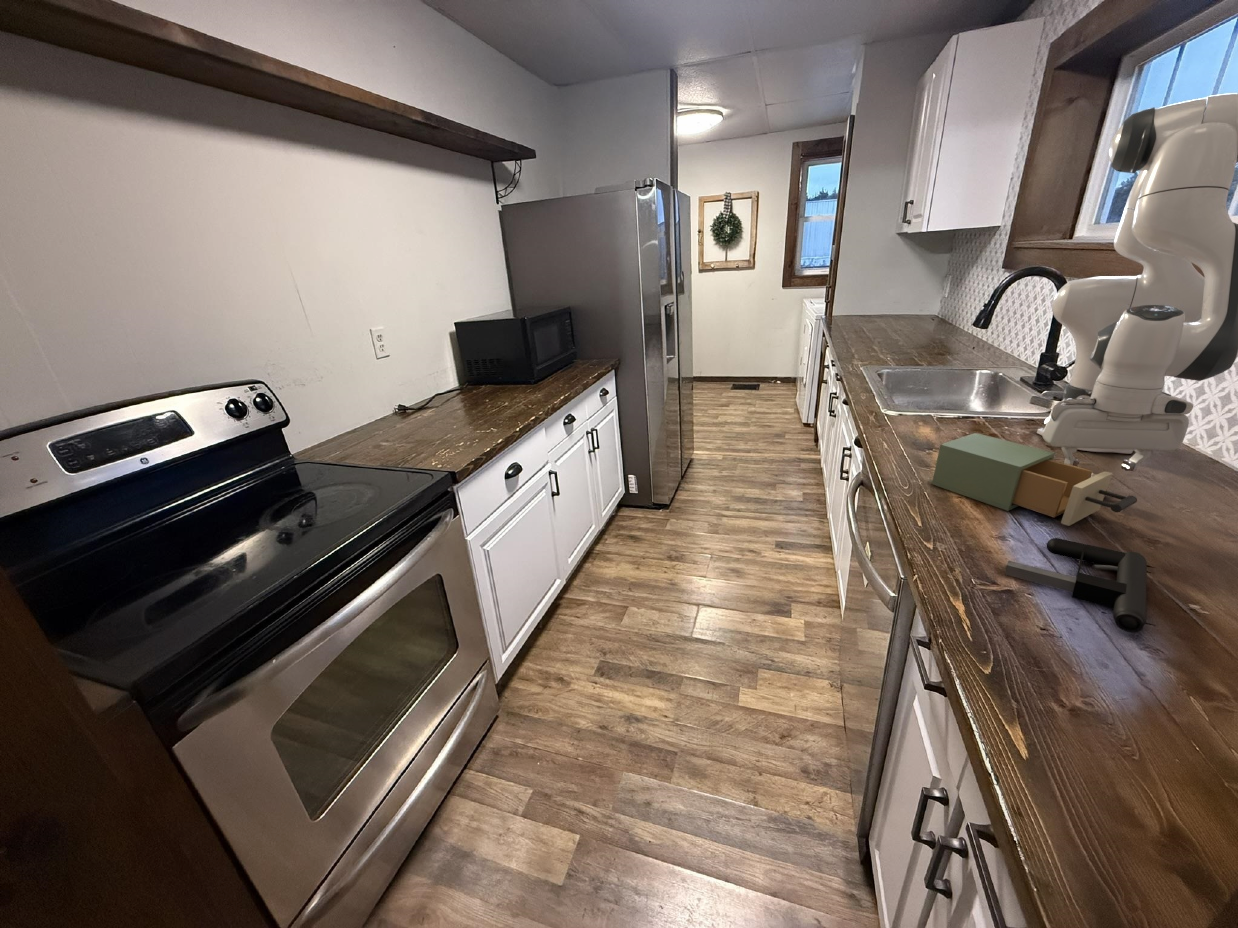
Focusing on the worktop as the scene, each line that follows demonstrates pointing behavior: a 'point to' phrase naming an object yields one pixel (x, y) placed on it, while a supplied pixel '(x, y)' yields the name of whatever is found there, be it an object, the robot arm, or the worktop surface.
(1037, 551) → the worktop surface
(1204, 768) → the worktop surface
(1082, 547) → the door handle
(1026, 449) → the cabinet
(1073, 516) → the drawer
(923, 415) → the worktop surface
